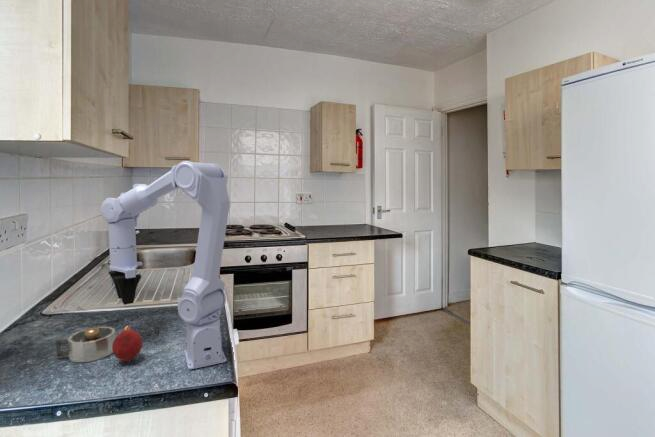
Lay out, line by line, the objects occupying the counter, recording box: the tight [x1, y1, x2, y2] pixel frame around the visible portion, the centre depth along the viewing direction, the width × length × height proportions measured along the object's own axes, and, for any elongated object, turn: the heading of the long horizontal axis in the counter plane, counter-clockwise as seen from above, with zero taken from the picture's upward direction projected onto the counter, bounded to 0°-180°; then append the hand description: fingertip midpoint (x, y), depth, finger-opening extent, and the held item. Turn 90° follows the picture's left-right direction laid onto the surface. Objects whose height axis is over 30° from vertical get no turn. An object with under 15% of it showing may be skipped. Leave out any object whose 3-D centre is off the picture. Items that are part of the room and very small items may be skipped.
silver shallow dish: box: [55, 326, 117, 364], centre depth 82 cm, size 9×11×4 cm
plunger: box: [84, 326, 100, 341], centre depth 82 cm, size 6×6×5 cm
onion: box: [112, 325, 143, 362], centre depth 79 cm, size 6×6×8 cm
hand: (125, 300), depth 88 cm, fingers open, 5 cm apart
